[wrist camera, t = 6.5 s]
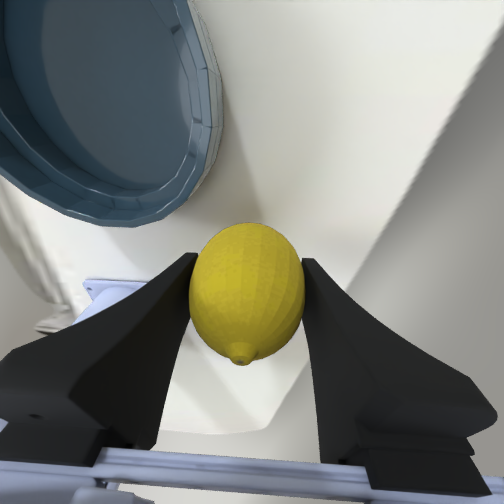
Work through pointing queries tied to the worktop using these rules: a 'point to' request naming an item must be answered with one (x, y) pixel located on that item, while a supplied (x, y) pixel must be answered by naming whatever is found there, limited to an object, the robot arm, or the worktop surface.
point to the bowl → (108, 106)
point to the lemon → (247, 292)
